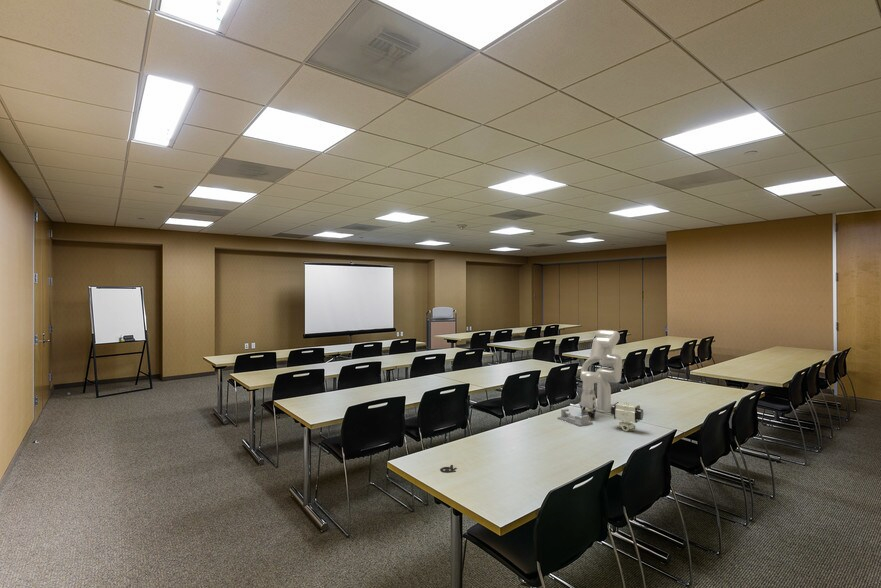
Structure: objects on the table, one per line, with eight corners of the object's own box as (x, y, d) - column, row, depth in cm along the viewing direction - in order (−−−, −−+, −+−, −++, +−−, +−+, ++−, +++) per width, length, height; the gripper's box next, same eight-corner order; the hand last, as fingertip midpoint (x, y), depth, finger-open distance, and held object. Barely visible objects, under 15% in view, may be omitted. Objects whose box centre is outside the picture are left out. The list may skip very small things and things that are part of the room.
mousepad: (449, 465, 212) (449, 463, 212) (461, 469, 207) (461, 468, 207) (437, 471, 205) (437, 469, 205) (450, 475, 200) (450, 474, 200)
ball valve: (609, 428, 271) (610, 401, 271) (614, 425, 278) (614, 398, 278) (639, 434, 260) (640, 405, 260) (643, 431, 266) (643, 403, 266)
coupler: (589, 417, 297) (589, 408, 297) (595, 418, 293) (595, 410, 293) (581, 418, 293) (581, 410, 293) (587, 420, 289) (587, 411, 289)
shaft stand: (557, 418, 292) (557, 410, 292) (570, 416, 298) (570, 407, 298) (580, 426, 275) (580, 417, 275) (592, 424, 281) (592, 415, 281)
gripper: (602, 393, 287) (602, 419, 287) (582, 388, 302) (582, 413, 302) (594, 394, 284) (594, 421, 284) (574, 389, 299) (574, 414, 299)
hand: (588, 416), depth 293 cm, fingers open, 7 cm apart
